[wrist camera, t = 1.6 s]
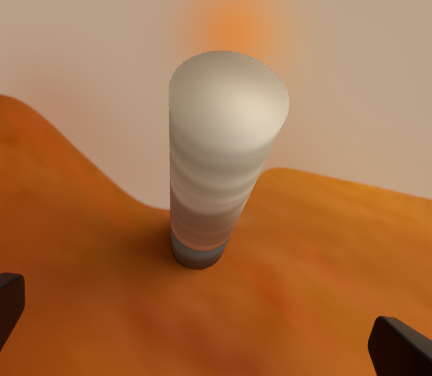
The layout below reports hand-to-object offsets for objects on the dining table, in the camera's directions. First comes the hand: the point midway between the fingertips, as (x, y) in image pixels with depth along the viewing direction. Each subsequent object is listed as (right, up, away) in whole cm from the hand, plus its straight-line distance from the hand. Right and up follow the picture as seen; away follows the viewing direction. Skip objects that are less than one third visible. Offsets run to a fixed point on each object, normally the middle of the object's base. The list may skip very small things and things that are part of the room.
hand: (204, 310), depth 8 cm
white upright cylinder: (-1, -1, +14) cm, 14 cm away
